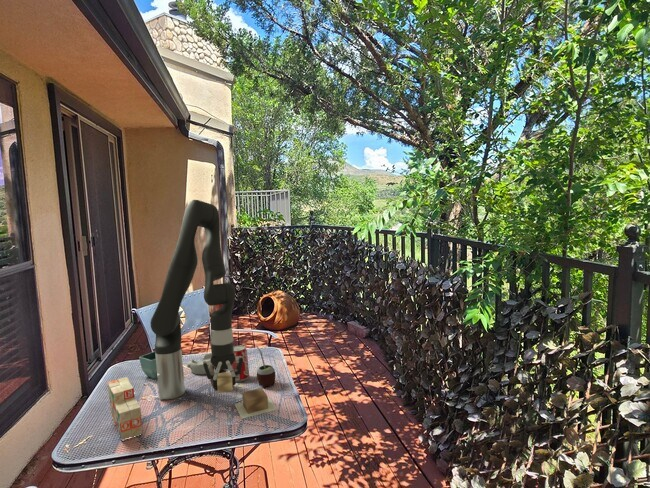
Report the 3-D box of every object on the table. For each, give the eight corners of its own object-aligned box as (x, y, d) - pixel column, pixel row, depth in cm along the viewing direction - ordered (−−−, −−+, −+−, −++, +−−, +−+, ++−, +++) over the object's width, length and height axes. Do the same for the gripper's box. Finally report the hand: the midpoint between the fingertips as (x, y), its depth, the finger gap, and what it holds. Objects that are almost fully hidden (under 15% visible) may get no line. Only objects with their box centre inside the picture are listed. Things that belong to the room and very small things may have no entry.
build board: (242, 421, 133) (241, 418, 132) (234, 407, 143) (234, 404, 142) (277, 412, 137) (277, 409, 137) (268, 398, 147) (267, 396, 147)
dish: (184, 374, 174) (183, 363, 173) (203, 362, 187) (202, 351, 186) (214, 377, 169) (213, 365, 169) (231, 364, 183) (230, 353, 182)
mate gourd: (272, 392, 152) (270, 353, 151) (252, 391, 154) (250, 352, 153) (278, 383, 160) (276, 346, 158) (259, 382, 161) (256, 346, 160)
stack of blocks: (143, 435, 128) (139, 397, 127) (121, 442, 124) (117, 404, 123) (130, 409, 145) (127, 376, 144) (110, 415, 142) (107, 381, 140)
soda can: (247, 382, 162) (245, 350, 161) (229, 383, 162) (226, 351, 161) (250, 375, 169) (248, 344, 168) (233, 375, 169) (231, 345, 168)
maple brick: (218, 393, 141) (217, 379, 140) (216, 387, 145) (215, 373, 145) (232, 390, 142) (232, 376, 142) (230, 384, 147) (230, 371, 147)
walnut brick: (247, 413, 135) (246, 400, 135) (243, 404, 142) (242, 392, 141) (268, 408, 138) (267, 395, 138) (262, 399, 144) (261, 387, 144)
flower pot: (171, 373, 175) (169, 353, 175) (153, 381, 168) (151, 360, 167) (158, 369, 180) (156, 350, 179) (140, 377, 173) (138, 357, 172)
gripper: (201, 346, 136) (204, 396, 138) (244, 340, 141) (246, 388, 143) (199, 340, 143) (202, 387, 145) (241, 334, 148) (243, 380, 150)
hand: (224, 387), depth 144 cm, fingers closed on maple brick, 5 cm apart
